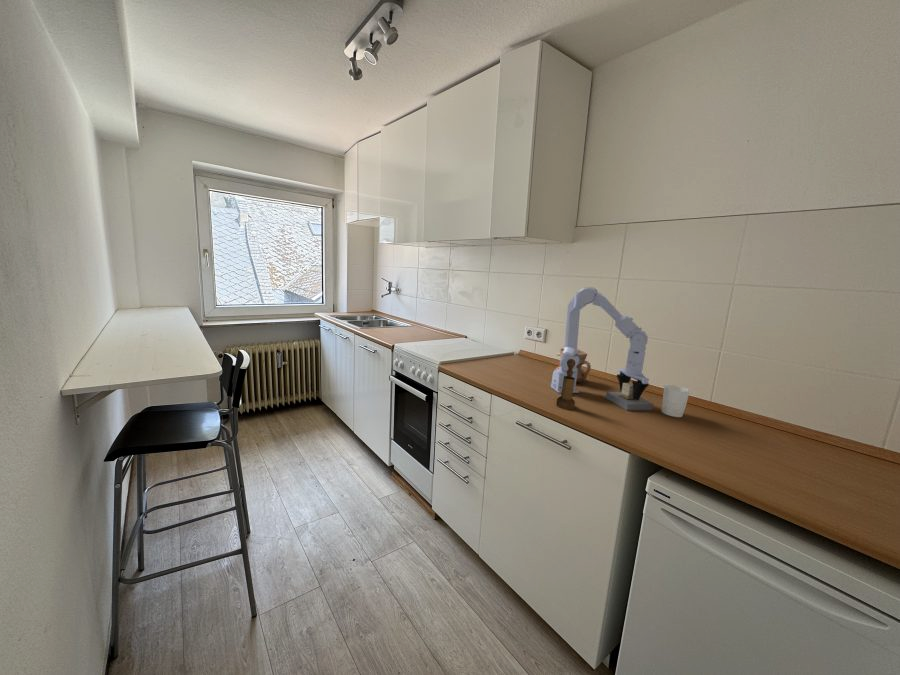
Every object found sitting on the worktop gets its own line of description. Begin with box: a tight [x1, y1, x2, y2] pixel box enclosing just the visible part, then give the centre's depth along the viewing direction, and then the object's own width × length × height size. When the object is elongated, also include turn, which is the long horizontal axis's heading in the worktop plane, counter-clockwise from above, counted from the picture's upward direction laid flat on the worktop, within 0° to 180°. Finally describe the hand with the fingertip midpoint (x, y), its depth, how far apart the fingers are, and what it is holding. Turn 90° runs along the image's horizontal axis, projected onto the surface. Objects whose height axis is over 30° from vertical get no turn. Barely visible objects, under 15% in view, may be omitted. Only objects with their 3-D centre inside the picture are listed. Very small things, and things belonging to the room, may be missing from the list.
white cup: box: [661, 384, 691, 418], centre depth 133 cm, size 8×8×10 cm
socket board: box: [605, 391, 654, 411], centre depth 141 cm, size 11×13×2 cm
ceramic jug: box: [554, 347, 592, 383], centre depth 167 cm, size 18×14×14 cm
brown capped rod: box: [555, 359, 576, 410], centre depth 132 cm, size 7×6×18 cm
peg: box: [621, 382, 634, 400], centre depth 140 cm, size 4×4×8 cm
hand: (629, 395), depth 140 cm, fingers open, 7 cm apart
